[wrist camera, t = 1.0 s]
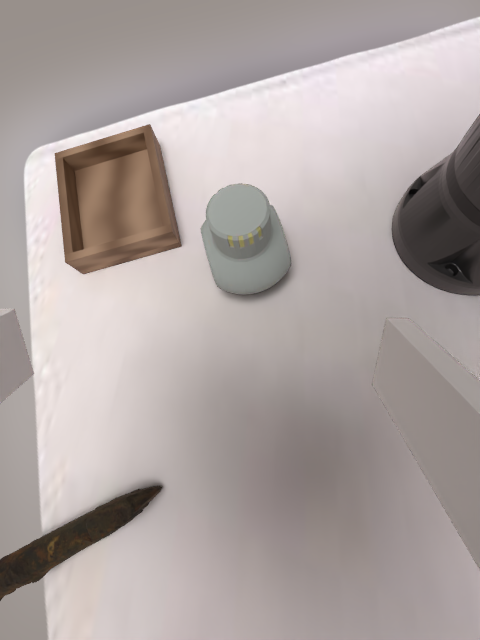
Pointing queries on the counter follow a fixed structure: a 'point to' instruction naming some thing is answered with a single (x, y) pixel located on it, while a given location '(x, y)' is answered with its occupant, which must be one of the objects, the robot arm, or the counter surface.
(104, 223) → the tray
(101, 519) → the hand tool
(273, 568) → the counter surface
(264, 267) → the air freshener
